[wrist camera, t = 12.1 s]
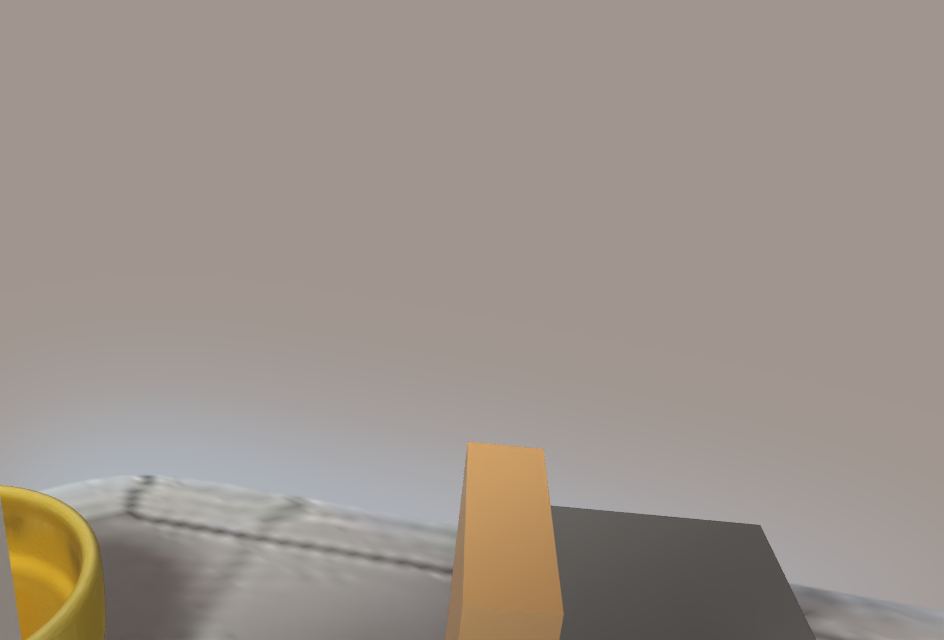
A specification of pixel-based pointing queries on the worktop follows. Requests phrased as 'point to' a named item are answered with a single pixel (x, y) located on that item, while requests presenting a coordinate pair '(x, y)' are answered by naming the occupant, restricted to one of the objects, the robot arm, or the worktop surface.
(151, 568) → the worktop surface
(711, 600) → the camera body
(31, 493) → the plant pot
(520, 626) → the sliding cover
